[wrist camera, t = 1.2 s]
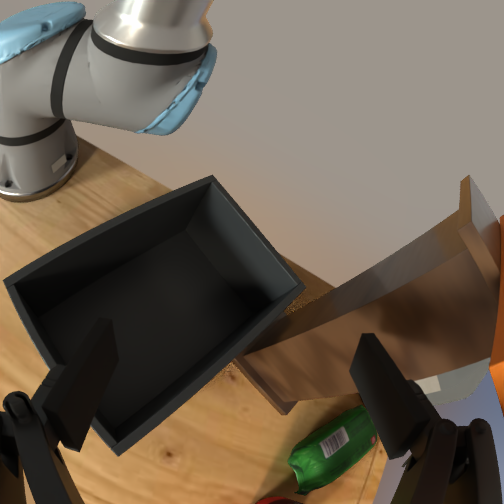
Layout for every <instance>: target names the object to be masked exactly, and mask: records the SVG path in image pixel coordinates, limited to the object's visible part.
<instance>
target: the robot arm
mask: <svg viewBox="0 0 504 504" xmlns="http://www.w3.org/2000/svg"><path fill="white" fill-rule="evenodd" d="M213 1H214V0H114V1H113V2H111V3H109V4H108V5H106V6H105V7H103V8H102V9H101V10H100V11H98V12H97V14H96V15H95V18H94V20H87V19H84V17H85V15H86V12H85V6H84V5H83V4H81V3H77V2H57V3H51V4H46V5H41V6H37V7H34V8H31V9H27V10H25V11H22V12H20V13H18V14H15V15H13V16H11V17H9V18H7V19H5V20H4V21H2V22H1V23H0V197H1V198H2V199H4V200H7V201H11V202H30V201H35V200H38V199H41V198H43V197H46V196H48V195H50V194H52V193H53V192H55V191H56V190H58V189H59V188H60V187H61V186H63V185H64V184H65V183H66V182H67V180H68V179H69V178H70V177H71V175H72V174H73V172H74V170H75V168H76V165H77V161H78V149H79V146H78V140H77V137H76V134H75V132H74V129H73V126H72V123H71V120H76V121H82V122H87V123H92V124H98V125H103V126H108V127H113V128H118V129H123V130H127V131H132V132H134V133H148V134H154V135H161V136H162V135H169V134H171V133H173V132H175V131H176V130H177V129H178V128H179V127H180V126H181V125H182V124H183V123H184V122H185V121H186V119H187V118H188V116H189V115H190V113H191V112H192V110H193V108H194V107H195V105H196V103H197V102H198V100H199V98H200V96H201V94H202V90H203V87H204V86H205V85H206V84H207V82H208V80H209V78H210V76H211V74H212V71H213V68H214V66H215V63H216V58H217V50H216V48H215V47H214V46H212V45H211V44H210V43H209V42H210V40H211V38H212V35H213V32H212V28H211V26H210V24H209V22H208V20H207V19H206V17H205V16H206V14H207V12H208V10H209V8H210V6H211V4H212V3H213ZM118 362H119V356H118V351H117V345H116V340H115V334H114V328H113V321H112V319H108V318H101V317H99V318H98V320H97V321H96V322H95V324H94V325H93V327H92V328H91V330H90V331H89V332H88V334H87V335H86V337H85V338H84V340H83V341H82V343H81V344H80V346H79V347H78V348H77V350H76V351H75V353H74V354H73V356H72V358H71V359H70V361H69V362H68V364H67V365H66V366H64V365H61V364H58V365H56V366H55V367H54V368H52V369H51V370H50V371H49V373H48V374H47V376H46V378H45V379H44V380H43V382H42V385H40V386H39V388H38V389H37V391H36V392H35V394H34V396H33V397H32V399H31V400H30V398H29V397H28V395H27V394H25V393H24V392H20V391H15V392H12V393H9V394H8V395H7V396H6V397H5V399H4V400H3V408H4V409H5V411H6V412H1V411H0V504H26V496H25V487H24V476H23V469H24V473H25V476H26V479H27V482H28V484H29V487H30V490H31V492H32V495H33V498H34V501H35V503H36V504H85V503H84V501H83V500H82V498H81V496H80V494H79V492H78V490H77V488H76V486H75V484H74V482H73V480H72V478H71V476H70V473H69V471H68V469H67V467H66V465H65V462H64V460H63V457H62V455H61V453H60V450H59V448H58V447H57V446H58V443H59V441H61V443H62V444H63V446H64V447H65V448H68V449H71V450H74V451H77V452H80V450H81V448H82V445H83V443H84V440H85V438H86V435H87V433H88V430H89V428H90V425H91V423H92V420H93V418H94V416H95V413H96V411H97V409H98V406H99V404H100V402H101V399H102V397H103V395H104V392H105V390H106V388H107V386H108V384H109V381H110V379H111V377H112V375H113V373H114V370H115V368H116V366H117V364H118ZM349 373H350V375H351V377H352V379H353V381H354V383H355V385H356V388H357V390H358V392H359V394H360V396H361V398H362V400H363V402H364V405H365V407H366V409H367V411H368V413H369V415H370V417H371V420H372V422H373V424H374V426H375V428H376V431H377V433H378V435H379V437H380V439H381V442H382V444H383V446H384V448H385V451H386V453H387V455H388V457H389V460H391V459H395V458H399V457H402V456H404V455H405V454H406V452H407V451H408V450H409V449H410V451H411V453H412V454H411V456H410V457H409V458H408V459H407V460H406V462H405V463H404V464H403V466H402V467H404V466H405V465H406V464H407V465H406V468H405V470H404V473H403V476H402V478H401V480H400V483H399V485H398V488H397V490H396V492H395V495H394V497H393V499H392V501H391V503H390V504H502V492H501V483H500V474H499V467H498V461H497V455H496V450H495V445H494V439H493V435H492V430H491V427H490V425H489V424H488V423H487V421H485V420H484V419H480V418H477V419H474V420H472V422H471V423H470V425H469V426H456V424H455V423H454V422H452V421H450V420H448V419H442V418H441V417H440V416H439V414H438V413H437V411H436V409H435V408H434V406H433V405H432V403H431V402H430V400H429V399H428V397H427V396H426V395H425V394H424V392H423V390H422V389H421V387H420V386H419V385H418V384H417V383H416V382H414V381H413V380H412V379H410V380H406V379H405V377H404V376H403V374H402V373H401V371H400V370H399V368H398V367H397V365H396V364H395V362H394V361H393V360H392V358H391V357H390V355H389V354H388V352H387V351H386V349H385V348H384V347H383V345H382V344H381V342H380V341H379V339H378V338H377V337H376V335H375V334H374V333H362V334H361V337H360V340H359V343H358V346H357V349H356V352H355V355H354V358H353V361H352V364H351V366H350V369H349Z"/></svg>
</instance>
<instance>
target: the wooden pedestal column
mask: <svg viewBox="0 0 504 504" xmlns="http://www.w3.org/2000/svg"><path fill="white" fill-rule="evenodd" d="M500 275H501V233H500V224H499V222H498V220H497V218H496V217H495V215H494V213H493V211H492V210H491V208H490V206H489V205H488V203H487V201H486V200H485V198H484V196H483V195H482V193H481V192H480V190H479V189H478V187H477V185H476V184H475V182H474V181H473V179H472V178H471V177H470V175H468V176H467V177H466V178H464V179H463V180H462V181H461V186H460V203H459V210H457V211H456V212H455V213H453V214H452V215H450V216H449V217H448V218H446V219H445V220H443V221H442V222H440V223H439V224H438V225H436V226H435V227H433V228H432V229H430V230H429V231H427V232H426V233H424V234H423V235H421V236H420V237H418V238H417V239H415V240H414V241H412V242H411V243H409V244H408V245H406V246H404V247H403V248H401V249H400V250H398V251H397V252H395V253H394V254H392V255H390V256H389V257H387V258H386V259H384V260H383V261H381V262H379V263H377V264H376V265H375V266H373V267H371V268H369V269H368V270H366V271H364V272H363V273H361V274H359V275H358V276H356V277H354V278H353V279H351V280H349V281H348V282H346V283H344V284H342V285H341V286H339V287H337V288H335V289H334V290H332V291H330V292H328V293H327V294H325V295H323V296H321V297H320V298H318V299H316V300H314V301H312V302H311V303H309V304H307V305H305V306H303V307H301V308H300V309H298V310H296V311H294V312H292V313H290V314H288V315H286V314H285V312H284V311H283V312H282V313H281V314H280V315H279V316H278V317H277V318H276V319H275V320H274V321H273V322H272V323H271V324H270V325H269V326H268V327H267V328H266V329H265V330H263V331H262V332H261V333H260V334H259V335H258V336H257V337H256V338H255V339H254V340H253V341H252V342H251V343H250V344H249V345H248V346H247V347H246V348H245V349H244V350H243V351H242V352H241V353H239V354H238V355H237V356H236V357H235V358H234V359H233V360H232V362H233V363H234V364H235V365H236V366H237V367H238V369H239V370H240V371H241V372H242V373H243V374H244V375H245V376H246V378H247V379H248V380H249V381H250V382H251V383H252V384H253V385H254V386H255V387H256V389H257V390H258V391H259V392H260V393H261V394H262V395H263V396H264V397H265V398H266V399H267V400H268V401H269V402H270V404H271V405H272V406H273V407H274V408H275V409H276V410H277V411H278V412H279V413H280V414H281V415H287V414H288V413H289V412H290V411H291V409H292V408H293V407H294V406H295V405H296V403H297V402H298V401H301V400H311V399H320V398H328V397H335V396H342V395H349V394H355V393H359V392H358V390H357V388H356V385H355V383H354V381H353V379H352V377H351V375H350V373H349V369H350V366H351V364H352V361H353V358H354V355H355V352H356V349H357V346H358V343H359V340H360V337H361V334H362V333H374V334H375V335H376V337H377V338H378V339H379V341H380V342H381V344H382V345H383V347H384V348H385V349H386V351H387V352H388V354H389V355H390V357H391V358H392V360H393V361H394V362H395V364H396V365H397V367H398V368H399V370H400V371H401V373H402V374H403V376H404V377H405V379H406V380H410V379H412V380H413V381H417V380H421V379H425V378H428V377H432V376H435V375H439V374H442V373H446V372H449V371H452V370H455V369H459V368H462V367H465V366H468V365H470V364H473V363H476V362H479V361H482V360H484V359H487V358H490V357H491V354H492V348H493V343H494V337H495V330H496V323H497V314H498V305H499V293H500Z"/></svg>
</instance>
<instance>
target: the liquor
mask: <svg viewBox="0 0 504 504" xmlns="http://www.w3.org/2000/svg"><path fill="white" fill-rule="evenodd" d="M490 359H491V357H490V358H487V359H484V360H482V361H479V362H476V363H473V364H470V365H468V366H465V367H462V368H459V369H455V370H452V371H449V372H446V373H442V374H439V375H435V376H432V377H428V378H425V379H421V380H417V381H414V382H416V383H417V384H418V385H419V386H420V387H421V389H422V390H423V392H424V394H425V395H426V396H427V397H428V399H429V400H430V402H431V403H432V405H433V406H436V405H441V404H445V403H450V402H454V401H458V400H461V399H466V398H467V397H469V396H470V395H471V394H473V392H474V391H475V389H476V388H477V387H478V385H479V384H480V382H481V381H482V379H483V378H484V376H485V375H486V373H487V372H488V370H489V364H490Z"/></svg>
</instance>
